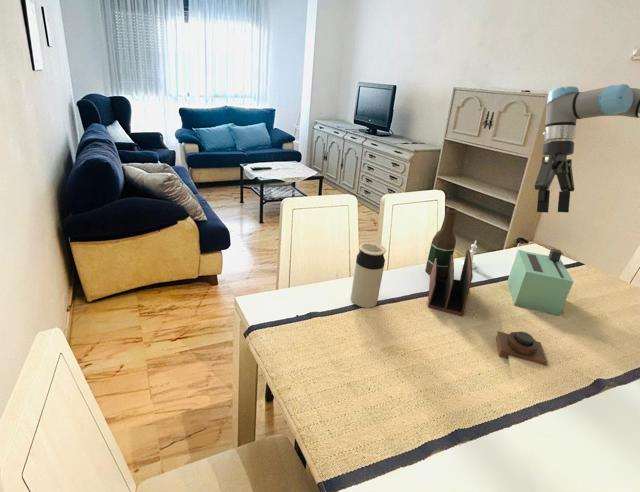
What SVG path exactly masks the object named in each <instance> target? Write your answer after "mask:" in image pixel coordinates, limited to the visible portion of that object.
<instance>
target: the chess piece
mask: <svg viewBox="0 0 640 492" xmlns="http://www.w3.org/2000/svg"><path fill="white" fill-rule="evenodd" d="M477 242H478V241H477V240H474V242H473V243H472V244H471V246H470V247H471V249H469V251H470V255H471V261H472V269H476V268H477V263H476V262H475V261H474V255H475V254H476V253H477V251H476V250H477V248H478V245H477ZM461 265H462V266H463V265H464V260H462V262H461Z"/></svg>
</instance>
